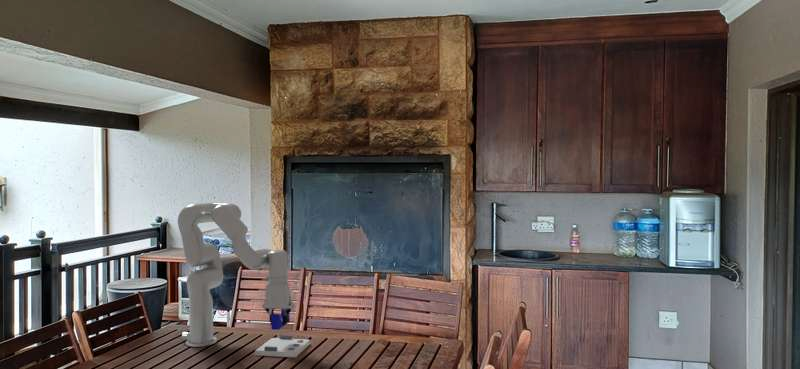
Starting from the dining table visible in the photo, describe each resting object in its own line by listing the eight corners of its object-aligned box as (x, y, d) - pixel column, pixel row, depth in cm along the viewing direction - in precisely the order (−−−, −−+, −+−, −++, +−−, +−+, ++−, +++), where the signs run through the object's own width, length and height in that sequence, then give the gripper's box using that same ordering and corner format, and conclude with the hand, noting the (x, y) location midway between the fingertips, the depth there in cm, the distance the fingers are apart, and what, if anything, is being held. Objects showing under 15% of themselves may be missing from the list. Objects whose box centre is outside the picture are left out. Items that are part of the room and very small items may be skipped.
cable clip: (279, 321, 230) (279, 307, 230) (289, 321, 229) (289, 307, 229) (268, 329, 218) (267, 314, 218) (278, 329, 217) (278, 314, 217)
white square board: (255, 355, 216) (255, 346, 216) (271, 342, 233) (271, 334, 233) (295, 357, 213) (295, 348, 213) (309, 344, 230) (309, 336, 230)
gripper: (255, 281, 221) (255, 326, 221) (294, 282, 218) (295, 327, 218) (262, 278, 228) (263, 321, 228) (300, 279, 225) (301, 322, 226)
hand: (278, 323), depth 223 cm, fingers closed on cable clip, 4 cm apart
